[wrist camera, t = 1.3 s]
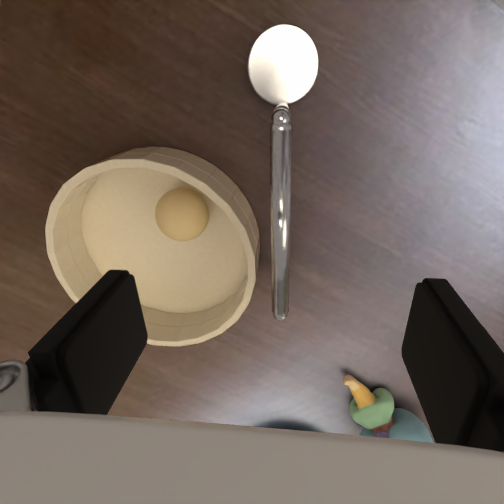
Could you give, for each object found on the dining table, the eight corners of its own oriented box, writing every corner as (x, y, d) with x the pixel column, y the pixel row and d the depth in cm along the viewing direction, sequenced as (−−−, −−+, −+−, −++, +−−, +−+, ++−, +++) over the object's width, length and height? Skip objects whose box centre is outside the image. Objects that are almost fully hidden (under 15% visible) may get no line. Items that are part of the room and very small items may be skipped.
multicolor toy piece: (395, 427, 25) (469, 513, 28) (373, 348, 33) (433, 422, 36) (317, 455, 28) (392, 531, 31) (315, 376, 36) (374, 442, 39)
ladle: (249, 29, 21) (232, 9, 15) (318, 25, 21) (331, 3, 14) (257, 271, 30) (248, 324, 23) (306, 272, 29) (311, 326, 23)
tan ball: (161, 181, 26) (141, 198, 22) (211, 181, 25) (198, 197, 22) (169, 228, 28) (152, 250, 24) (215, 228, 27) (204, 250, 24)
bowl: (54, 148, 26) (12, 161, 22) (257, 143, 24) (251, 157, 20) (104, 311, 34) (80, 342, 30) (262, 316, 32) (258, 350, 28)
